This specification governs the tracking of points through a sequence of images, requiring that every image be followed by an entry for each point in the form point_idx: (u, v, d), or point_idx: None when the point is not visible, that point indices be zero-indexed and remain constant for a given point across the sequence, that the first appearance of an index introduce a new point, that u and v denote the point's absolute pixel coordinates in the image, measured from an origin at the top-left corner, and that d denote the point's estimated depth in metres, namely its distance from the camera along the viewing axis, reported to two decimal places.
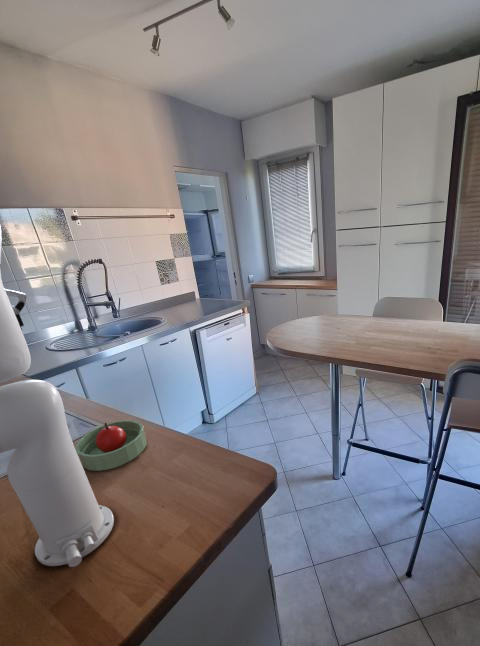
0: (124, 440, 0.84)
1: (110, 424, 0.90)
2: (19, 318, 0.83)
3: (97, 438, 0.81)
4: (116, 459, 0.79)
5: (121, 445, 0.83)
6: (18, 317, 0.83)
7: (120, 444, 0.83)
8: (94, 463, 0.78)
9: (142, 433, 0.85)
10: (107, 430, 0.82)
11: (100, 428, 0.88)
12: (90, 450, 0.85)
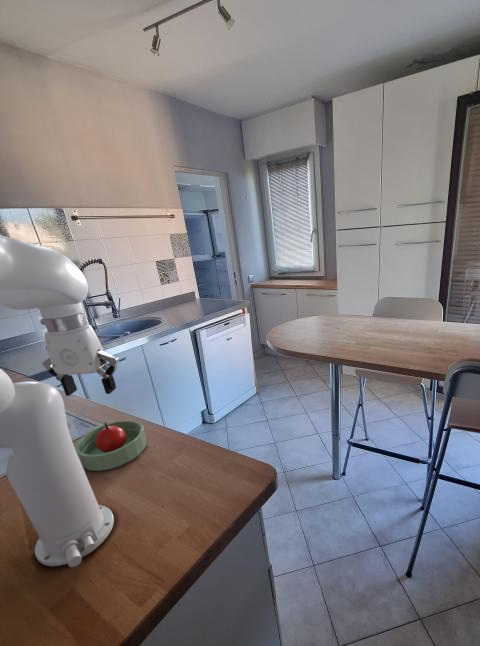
0: (124, 440, 0.84)
1: (110, 424, 0.90)
2: (108, 381, 0.77)
3: (97, 438, 0.81)
4: (116, 459, 0.79)
5: (121, 445, 0.83)
6: (108, 380, 0.77)
7: (120, 444, 0.83)
8: (94, 463, 0.78)
9: (142, 433, 0.85)
10: (107, 430, 0.82)
11: (100, 428, 0.88)
12: (90, 450, 0.85)
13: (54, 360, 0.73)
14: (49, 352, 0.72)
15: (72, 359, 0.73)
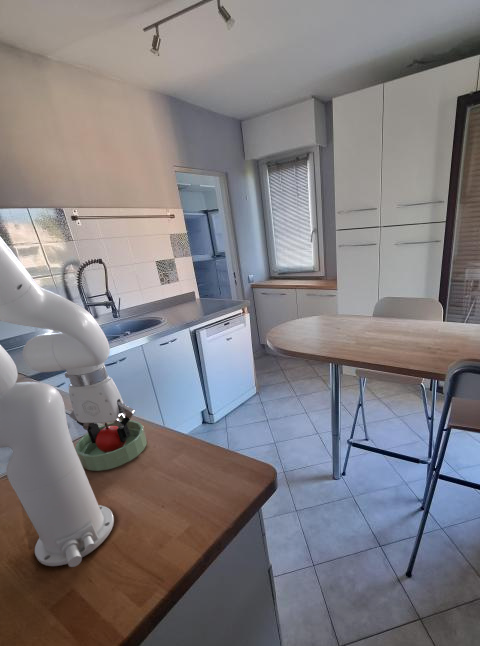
0: None
1: (110, 424, 0.90)
2: (123, 431, 0.82)
3: (97, 438, 0.81)
4: (116, 459, 0.79)
5: (121, 445, 0.83)
6: (122, 430, 0.82)
7: (120, 444, 0.83)
8: (94, 463, 0.78)
9: (142, 433, 0.85)
10: (107, 430, 0.82)
11: (100, 428, 0.88)
12: (90, 450, 0.85)
13: (77, 410, 0.78)
14: (72, 403, 0.77)
15: (94, 410, 0.78)
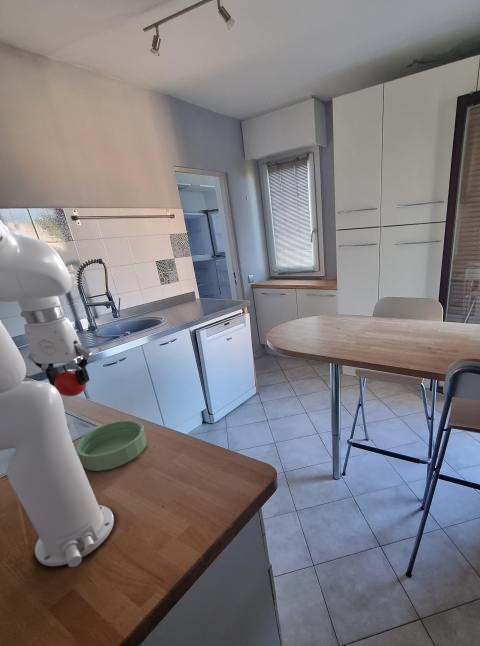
0: None
1: (110, 424, 0.90)
2: (81, 373, 0.83)
3: (55, 380, 0.83)
4: (116, 459, 0.79)
5: (80, 388, 0.84)
6: (81, 372, 0.83)
7: (79, 387, 0.84)
8: (94, 463, 0.78)
9: (142, 433, 0.85)
10: (65, 372, 0.83)
11: (100, 428, 0.88)
12: (90, 450, 0.85)
13: (33, 350, 0.79)
14: (28, 342, 0.78)
15: (50, 349, 0.79)
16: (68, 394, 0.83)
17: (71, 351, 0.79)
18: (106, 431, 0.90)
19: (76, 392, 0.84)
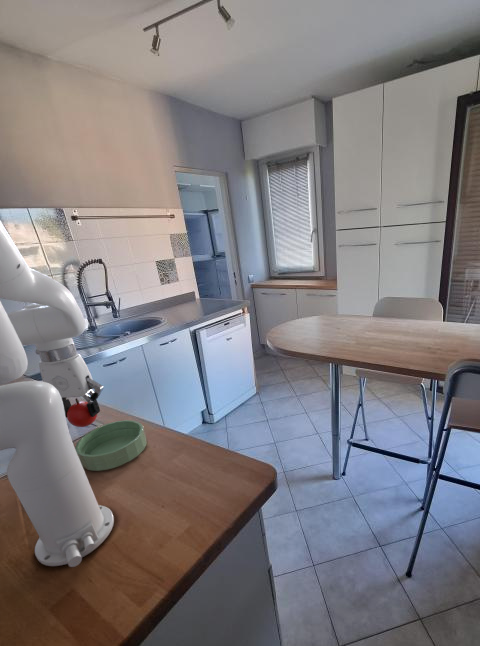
0: None
1: (110, 424, 0.90)
2: (93, 406, 0.87)
3: (68, 412, 0.86)
4: (116, 459, 0.79)
5: (91, 419, 0.88)
6: (92, 405, 0.87)
7: (90, 418, 0.88)
8: (94, 463, 0.78)
9: (142, 433, 0.85)
10: (78, 405, 0.87)
11: (100, 428, 0.88)
12: (90, 450, 0.85)
13: None
14: (43, 378, 0.82)
15: (63, 384, 0.82)
16: (80, 425, 0.87)
17: (83, 386, 0.83)
18: (106, 431, 0.90)
19: (87, 423, 0.88)
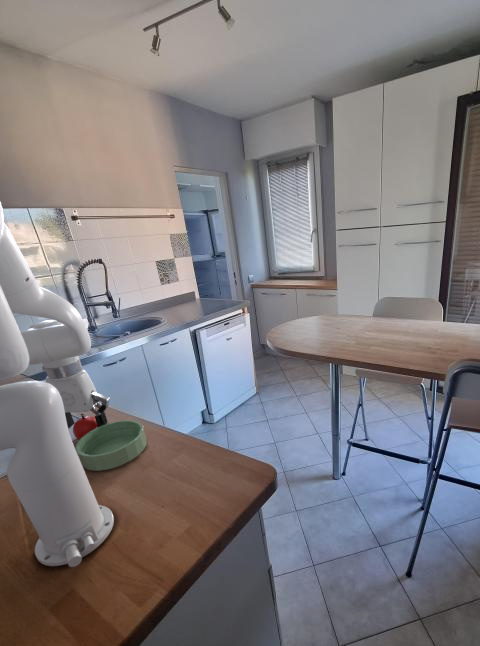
0: None
1: (110, 424, 0.90)
2: (101, 418, 0.89)
3: (74, 427, 0.88)
4: (116, 459, 0.79)
5: None
6: (100, 417, 0.89)
7: None
8: (94, 463, 0.78)
9: (142, 433, 0.85)
10: (83, 420, 0.89)
11: (100, 428, 0.88)
12: (90, 450, 0.85)
13: None
14: None
15: (69, 400, 0.84)
16: None
17: (89, 401, 0.85)
18: (106, 431, 0.90)
19: None
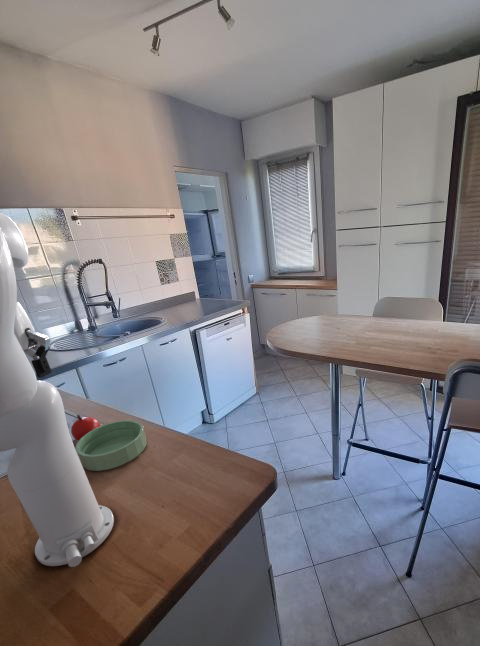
0: None
1: (110, 424, 0.90)
2: (40, 364, 0.70)
3: (72, 429, 0.88)
4: (116, 459, 0.79)
5: None
6: (39, 362, 0.70)
7: None
8: (94, 463, 0.78)
9: (142, 433, 0.85)
10: (80, 421, 0.89)
11: (100, 428, 0.88)
12: (90, 450, 0.85)
13: None
14: None
15: None
16: None
17: (21, 340, 0.67)
18: (106, 431, 0.90)
19: None
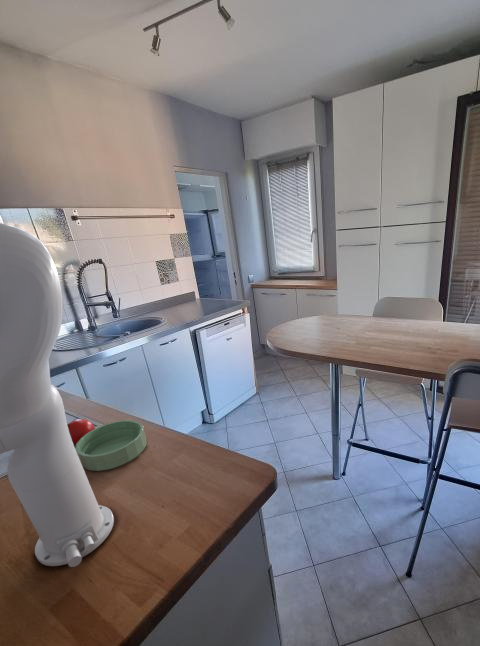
0: (90, 428, 0.89)
1: (110, 424, 0.90)
2: None
3: None
4: (116, 459, 0.79)
5: None
6: None
7: None
8: (94, 463, 0.78)
9: (142, 433, 0.85)
10: (69, 427, 0.87)
11: (100, 428, 0.88)
12: (90, 450, 0.85)
13: None
14: None
15: None
16: None
17: None
18: (106, 431, 0.90)
19: None
